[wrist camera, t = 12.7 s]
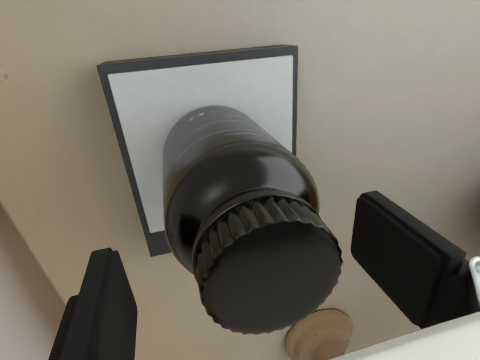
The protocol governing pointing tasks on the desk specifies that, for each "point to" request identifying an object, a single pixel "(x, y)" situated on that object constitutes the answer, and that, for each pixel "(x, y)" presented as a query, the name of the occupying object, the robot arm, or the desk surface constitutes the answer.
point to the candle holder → (319, 336)
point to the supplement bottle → (245, 222)
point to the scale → (188, 99)
